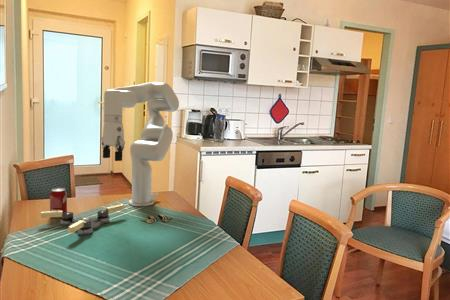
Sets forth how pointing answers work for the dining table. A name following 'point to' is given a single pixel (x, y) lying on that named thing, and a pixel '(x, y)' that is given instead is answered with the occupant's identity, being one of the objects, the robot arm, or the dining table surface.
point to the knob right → (57, 215)
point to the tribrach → (95, 223)
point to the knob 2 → (109, 211)
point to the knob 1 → (80, 226)
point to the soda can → (58, 200)
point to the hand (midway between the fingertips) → (112, 159)
